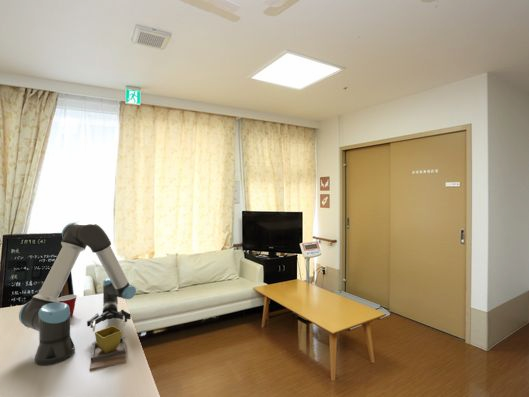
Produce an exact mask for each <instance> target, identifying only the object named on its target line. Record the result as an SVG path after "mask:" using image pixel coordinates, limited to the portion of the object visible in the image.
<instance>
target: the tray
mask: <svg viewBox="0 0 529 397" xmlns="http://www.w3.org/2000/svg"><path fill="white" fill-rule="evenodd" d="M126 356H127V355H126V339H125V336H123V337H122V336H121V340H120V343H119V345H118V347H117V349H115V350H113V351H110V352H108V353H104V352H103V351H102V350H101V349H100V348H99V347H98V345H97V342H93V343H92V346H91V352H90V362H89V372H90V371H91V372H92V371H96V370H100V369H104V368H108V367H114V366H117V365H121V364H126V363H127V360H126Z"/></svg>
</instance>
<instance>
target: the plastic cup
mask: <svg viewBox="0 0 529 397" xmlns="http://www.w3.org/2000/svg"><path fill="white" fill-rule="evenodd" d="M77 297H78V295H77V294H69V295H68V294H67V295H63V296H60V297H59V296H58V300H59V302H62V303H66V304H67V305H68V306H69V308H70V318H72V317H73V315H74V311H75V306H76V300H77Z"/></svg>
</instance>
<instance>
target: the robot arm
mask: <svg viewBox="0 0 529 397" xmlns="http://www.w3.org/2000/svg"><path fill="white" fill-rule="evenodd" d="M61 231H62V232H61V236H62V240H61V242H60V244H61V249H60V251H59V253H58V255H57V257H56V259H55V261H54V262H53V264H52V266H51V269H50V270H49V272H48V274H47V276H46V278H45V280H44V282H43V284H42V286H41V287H40V290H39V291H38V293H37V294H35V295H33V296H32V297H31V299H30V301H28V302H26V303H25V304H24V305H23V306H22V307H21V308H20V310H19V312H18V319H19V321H20V323H21V324H22V325H23V326H24V327H26V328H27V329H32V330H34V331H36V332H38V333H39V334H38V336H39V337H38V338H39V342H38V343H39V344H38V346H37V349H36V352H35V355H34V363H35V364H36V365H38V366H51V365H55V364H59V363H62V362H64V361H66V360H68V359H70V358H71V357H72V356H74V354H75V352H76V346H75V344H74V341H73V340H72V337H71V317H70V308H69V306H68V305H67V304H66V303H62V302H59V300H58V298H59V296H60V295H61V292H62V290H63V288H64V286H65V285H66V282H67V280H68V278H69V276H70V274H71V271H72V270H73V267H74V265H75V263H76V262H77V260H78V257H79V255H80V253H81V252H83V251H86V248H87V247H89V249H90V250H91V252H92V253H95V255H96V256H97V259H98V260H99V262H100V264H101V265H102V267H103V269H104V271H105V272H106V274H107V276H108V277H107V278H105V279H103V281H102V283H103V284H102V285H103V286H102V291H103V292H102V293H103V294H102V295H103V307H102V312H101V314H99V313H95V315H93V316H92V317H91V318H90V319H88V320H87V321H86V326H87V327H90V328H91V329H92V332H94V333H95V332H96V331H95V329H96V325H97V324H100V323H101V322H105V321H107V320H113V319H114V320H121V321H122V326H123V327H125V326H126V322H128V320H131V318H132V317H131V313H129V312H127V311H125V310H124V309H121V310H120V311H118V308H119V306H118V304H119V303H118V302H119V299H118V298H121V299H123V300H131V299H133V298H134V296H135V295H136V293H137V290H136V289H137V288H136V287H135V286H133V285H131V284H130V282H129V280H128V278H127V276H126V274H125V273H124V270H123V269H122V266H121V264H120V262H119V261H118V259H117V257H116V254H115V253H114V251H113V249H112V247H111V246H112V243H111V240H110V238H109V236H108V234H107V233H106V231H105V230H104V229H103V228H102V227H101V226H99V225H98V224H96V223H94V222H86V221H73V222H69V223H68V224H66V225H65V226H64V227H63V229H62V230H61Z"/></svg>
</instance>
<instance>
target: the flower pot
mask: <svg viewBox="0 0 529 397" xmlns="http://www.w3.org/2000/svg"><path fill="white" fill-rule="evenodd" d="M94 336H95V343H97V345H98V347H99V348H100V349H101V350H102V351H103V352H104V353H108V352H110V351H113V350H115V349H117V347H118V345H119V343H120V340H121V338H122V330H121V329H120V328H118V327H116V326H115V325H111V326H108V327H106V328H103V329H100V330H97V331H94Z"/></svg>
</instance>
